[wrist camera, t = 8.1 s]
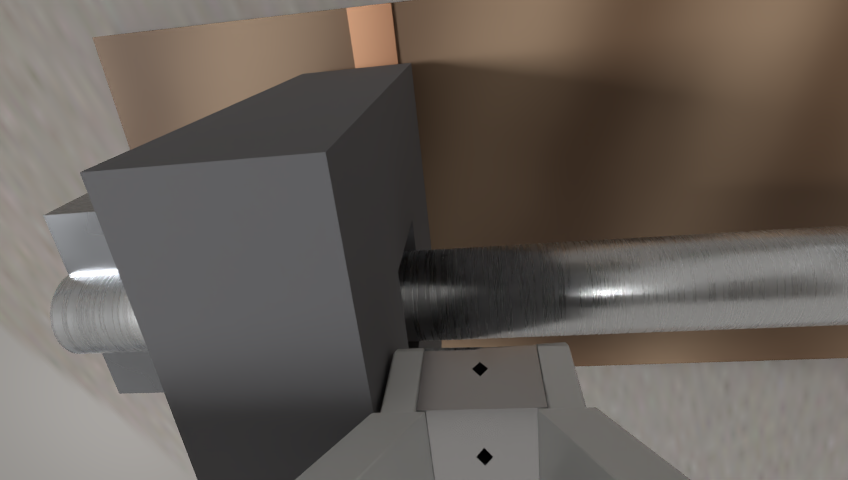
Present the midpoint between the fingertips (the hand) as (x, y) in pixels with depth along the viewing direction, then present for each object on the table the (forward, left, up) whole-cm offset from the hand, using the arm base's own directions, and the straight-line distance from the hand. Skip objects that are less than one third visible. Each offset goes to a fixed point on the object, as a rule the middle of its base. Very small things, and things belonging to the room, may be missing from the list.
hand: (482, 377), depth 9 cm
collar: (+3, 0, -7) cm, 8 cm away
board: (-4, 0, -9) cm, 9 cm away
